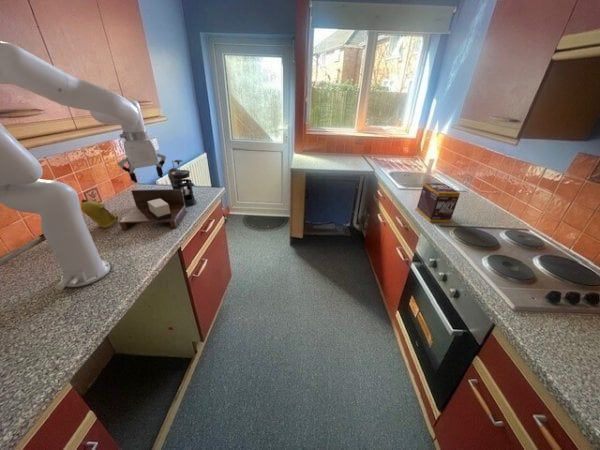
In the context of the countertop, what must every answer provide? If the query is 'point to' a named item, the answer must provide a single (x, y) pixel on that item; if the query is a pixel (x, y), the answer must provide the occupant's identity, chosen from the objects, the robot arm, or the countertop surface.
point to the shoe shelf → (141, 210)
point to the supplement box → (437, 202)
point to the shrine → (98, 213)
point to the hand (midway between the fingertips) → (148, 179)
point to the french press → (188, 192)
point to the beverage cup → (173, 178)
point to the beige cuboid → (159, 209)
